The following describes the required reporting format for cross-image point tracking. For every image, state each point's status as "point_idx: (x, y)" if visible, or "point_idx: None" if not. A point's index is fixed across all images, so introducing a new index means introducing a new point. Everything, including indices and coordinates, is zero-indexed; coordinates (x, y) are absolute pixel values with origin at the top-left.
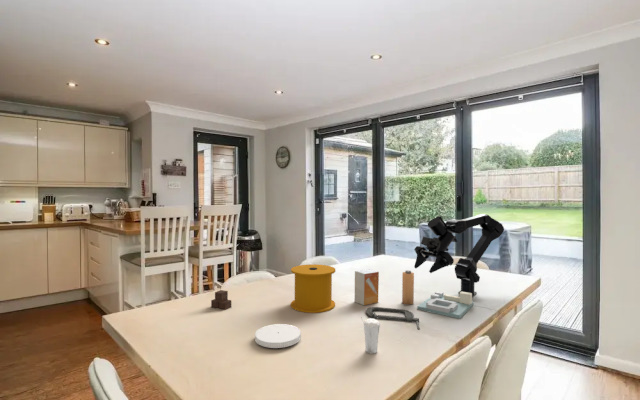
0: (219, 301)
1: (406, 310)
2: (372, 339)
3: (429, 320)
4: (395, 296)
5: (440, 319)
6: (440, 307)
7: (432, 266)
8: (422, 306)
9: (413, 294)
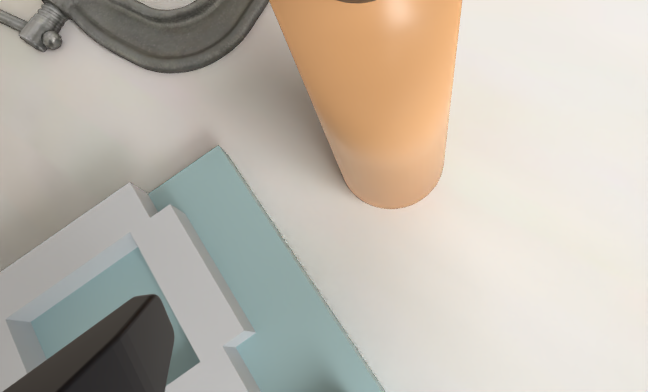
0: None
1: (207, 49)
2: None
3: (25, 121)
4: (615, 140)
5: (3, 201)
6: (31, 252)
7: (50, 379)
8: (194, 181)
9: (340, 161)
